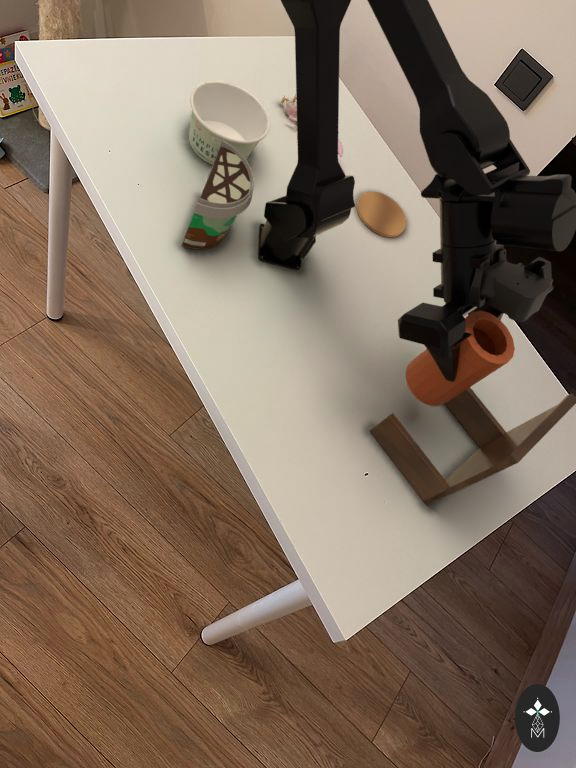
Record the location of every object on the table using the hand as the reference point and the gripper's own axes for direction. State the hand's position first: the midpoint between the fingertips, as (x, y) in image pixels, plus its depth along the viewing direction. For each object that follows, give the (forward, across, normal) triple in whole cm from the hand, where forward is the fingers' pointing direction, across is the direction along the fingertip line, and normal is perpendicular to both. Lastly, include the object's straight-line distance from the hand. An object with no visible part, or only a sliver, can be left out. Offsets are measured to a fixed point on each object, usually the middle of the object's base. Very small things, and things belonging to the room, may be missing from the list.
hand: (467, 367), depth 71 cm
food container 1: (-25, +3, +44) cm, 51 cm away
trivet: (-10, +22, +29) cm, 38 cm away
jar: (+4, 0, +6) cm, 7 cm away
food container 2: (-16, -8, +35) cm, 39 cm away
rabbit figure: (-23, +20, +42) cm, 52 cm away
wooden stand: (+12, 0, +6) cm, 14 cm away
